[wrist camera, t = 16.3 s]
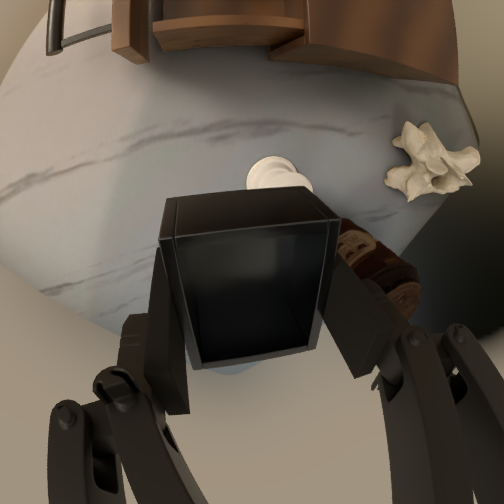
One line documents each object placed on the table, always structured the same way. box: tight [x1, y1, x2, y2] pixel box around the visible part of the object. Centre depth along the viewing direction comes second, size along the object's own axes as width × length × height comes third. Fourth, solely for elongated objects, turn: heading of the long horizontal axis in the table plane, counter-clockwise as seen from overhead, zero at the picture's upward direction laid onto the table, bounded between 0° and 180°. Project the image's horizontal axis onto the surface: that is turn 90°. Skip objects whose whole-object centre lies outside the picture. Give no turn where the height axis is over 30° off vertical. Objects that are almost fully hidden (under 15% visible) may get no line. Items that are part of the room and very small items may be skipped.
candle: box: [247, 156, 313, 193], centre depth 22 cm, size 5×5×12 cm
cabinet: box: [267, 0, 458, 86], centre depth 14 cm, size 15×12×10 cm
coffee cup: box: [336, 218, 422, 320], centre depth 27 cm, size 9×8×13 cm
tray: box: [158, 186, 341, 370], centre depth 12 cm, size 6×7×4 cm
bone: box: [384, 121, 480, 202], centre depth 25 cm, size 9×14×8 cm, turn 101°
